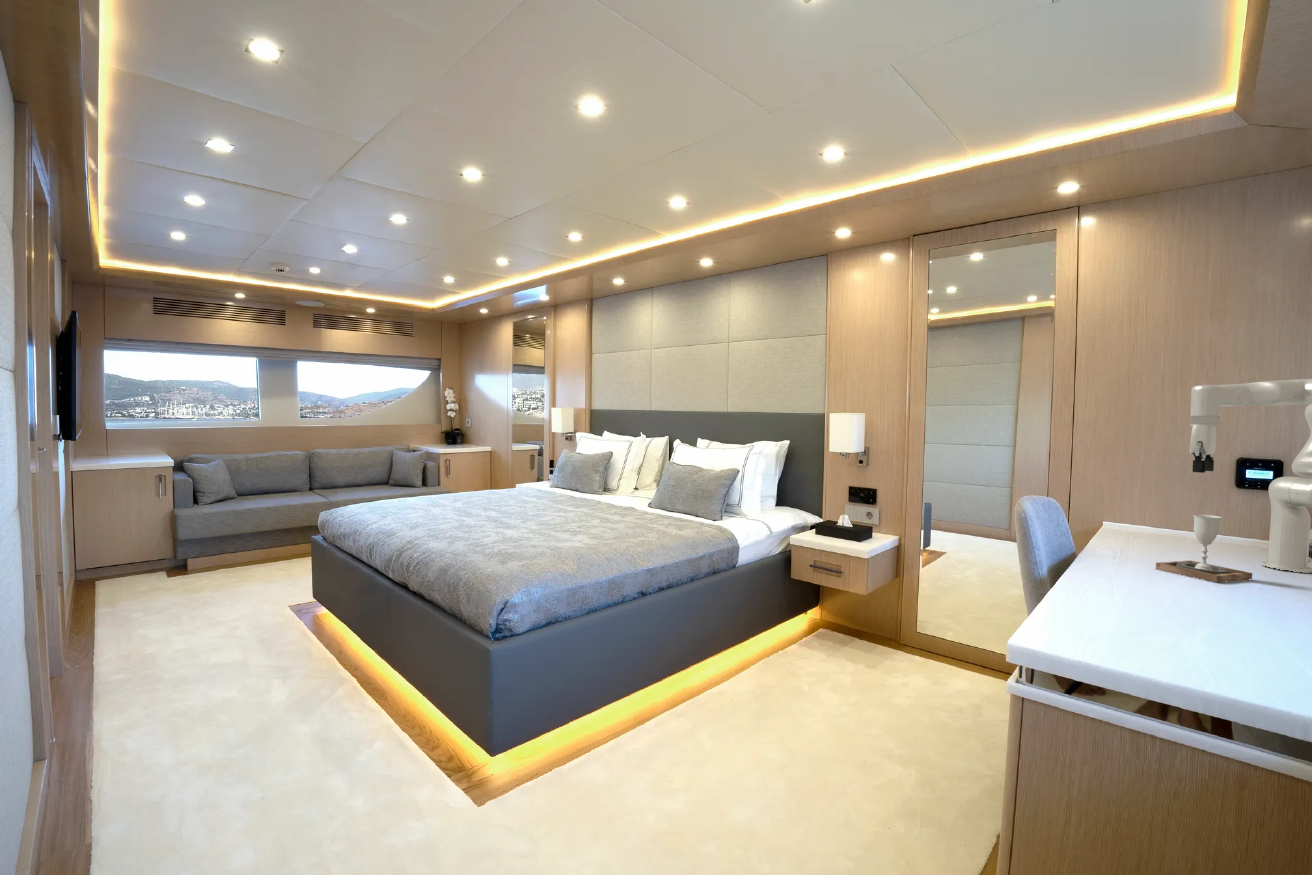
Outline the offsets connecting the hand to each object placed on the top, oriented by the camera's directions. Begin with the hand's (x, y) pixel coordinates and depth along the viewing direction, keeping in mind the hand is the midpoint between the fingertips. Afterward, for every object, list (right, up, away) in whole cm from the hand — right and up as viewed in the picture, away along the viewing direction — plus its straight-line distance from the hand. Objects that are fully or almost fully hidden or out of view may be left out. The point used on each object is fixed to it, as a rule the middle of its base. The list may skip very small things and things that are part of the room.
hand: (1203, 471), depth 208 cm
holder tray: (-10, -33, -11) cm, 36 cm away
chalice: (-10, -32, -11) cm, 35 cm away
